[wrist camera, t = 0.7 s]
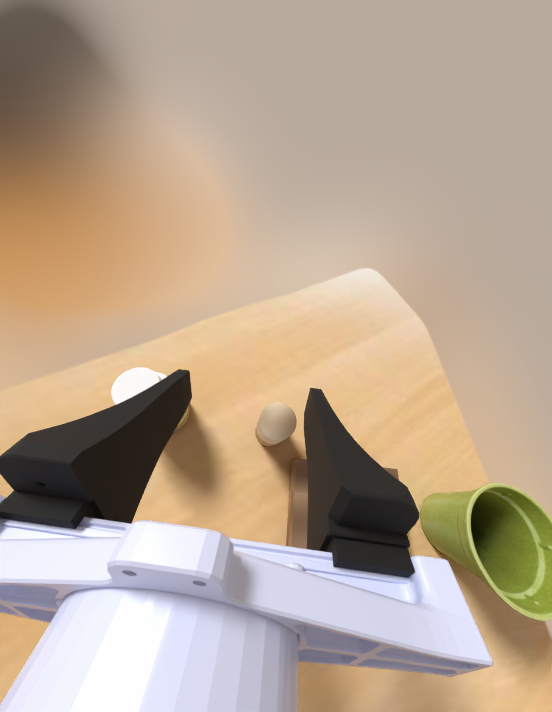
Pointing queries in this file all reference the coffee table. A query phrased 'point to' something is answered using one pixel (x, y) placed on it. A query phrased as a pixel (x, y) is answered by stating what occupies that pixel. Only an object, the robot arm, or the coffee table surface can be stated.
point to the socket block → (302, 503)
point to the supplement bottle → (138, 386)
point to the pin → (275, 424)
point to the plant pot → (497, 542)
